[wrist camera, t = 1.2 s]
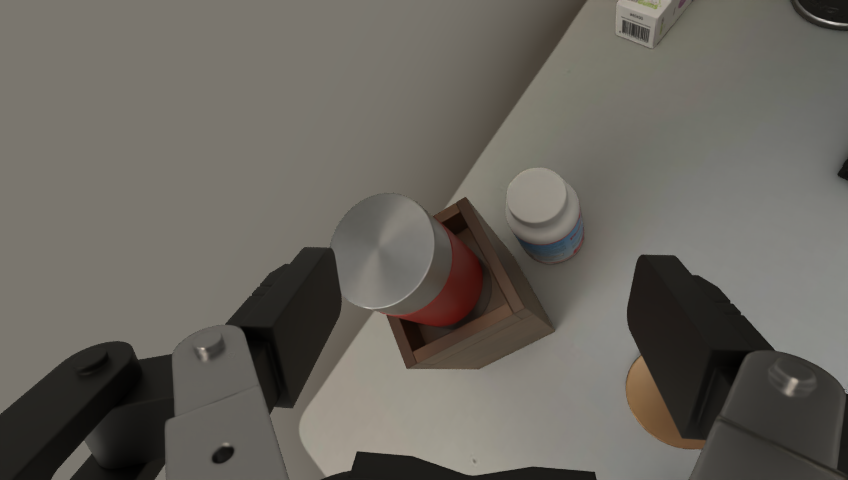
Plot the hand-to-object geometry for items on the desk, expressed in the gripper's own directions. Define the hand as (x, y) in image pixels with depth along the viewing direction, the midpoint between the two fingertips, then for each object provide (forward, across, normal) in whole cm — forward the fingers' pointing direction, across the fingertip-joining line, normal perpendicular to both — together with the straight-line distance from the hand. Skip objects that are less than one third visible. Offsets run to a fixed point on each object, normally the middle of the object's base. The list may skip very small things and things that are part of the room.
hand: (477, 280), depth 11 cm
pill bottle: (+30, -7, +13) cm, 33 cm away
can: (+16, +2, +10) cm, 19 cm away
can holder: (+26, -2, +20) cm, 32 cm away
